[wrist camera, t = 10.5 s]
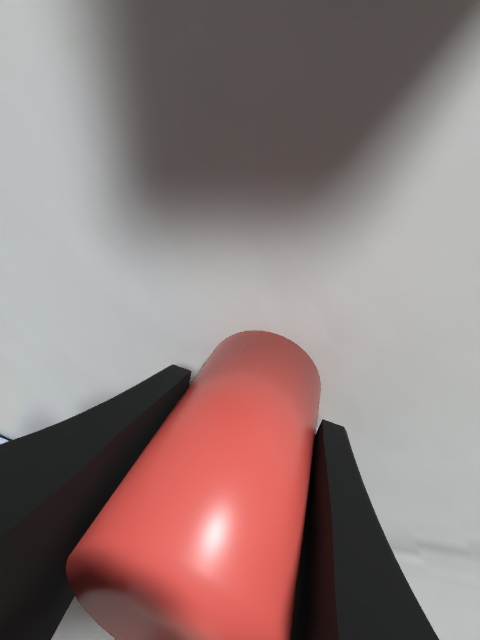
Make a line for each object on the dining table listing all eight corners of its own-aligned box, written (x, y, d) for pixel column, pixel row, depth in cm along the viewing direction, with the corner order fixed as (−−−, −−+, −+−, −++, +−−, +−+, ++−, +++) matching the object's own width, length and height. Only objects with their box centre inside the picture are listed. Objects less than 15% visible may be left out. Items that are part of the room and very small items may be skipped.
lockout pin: (200, 404, 13) (69, 619, 7) (218, 314, 11) (60, 503, 5) (300, 442, 12) (253, 716, 6) (338, 354, 10) (323, 626, 4)
